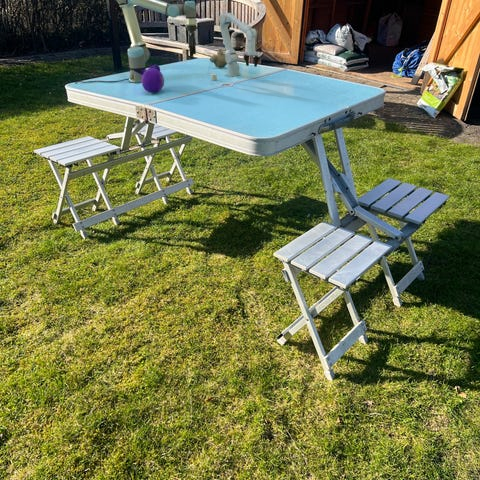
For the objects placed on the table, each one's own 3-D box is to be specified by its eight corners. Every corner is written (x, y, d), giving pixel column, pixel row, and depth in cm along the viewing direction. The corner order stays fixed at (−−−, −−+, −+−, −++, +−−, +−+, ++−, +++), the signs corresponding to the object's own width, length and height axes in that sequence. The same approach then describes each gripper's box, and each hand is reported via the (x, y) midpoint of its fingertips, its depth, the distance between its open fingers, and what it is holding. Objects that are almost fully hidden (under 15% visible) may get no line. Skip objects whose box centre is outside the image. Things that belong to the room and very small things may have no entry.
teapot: (213, 69, 375) (212, 50, 367) (207, 67, 383) (206, 48, 376) (235, 67, 384) (235, 48, 376) (229, 65, 392) (228, 46, 385)
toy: (156, 85, 322) (164, 98, 301) (131, 81, 314) (137, 93, 294) (160, 63, 314) (168, 74, 293) (135, 58, 306) (141, 69, 286)
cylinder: (216, 79, 340) (216, 73, 337) (216, 80, 336) (216, 74, 334) (211, 79, 340) (211, 73, 337) (211, 80, 336) (211, 74, 334)
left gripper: (194, 26, 320) (195, 58, 331) (198, 23, 342) (199, 53, 352) (183, 26, 320) (185, 58, 331) (188, 23, 342) (190, 53, 353)
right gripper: (240, 46, 333) (240, 66, 339) (256, 48, 325) (256, 67, 332) (246, 45, 337) (246, 64, 344) (261, 47, 330) (261, 66, 337)
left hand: (192, 55), depth 342 cm, fingers open, 13 cm apart
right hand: (251, 66), depth 338 cm, fingers open, 7 cm apart
